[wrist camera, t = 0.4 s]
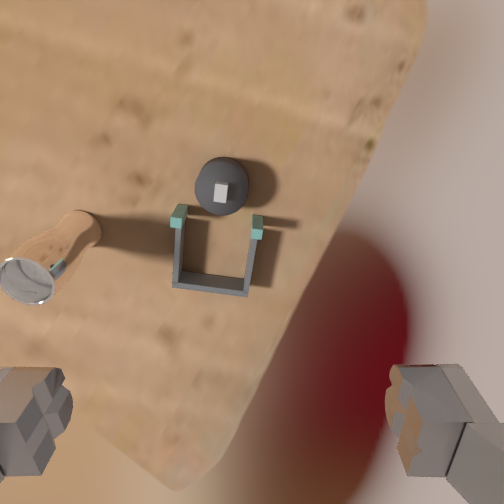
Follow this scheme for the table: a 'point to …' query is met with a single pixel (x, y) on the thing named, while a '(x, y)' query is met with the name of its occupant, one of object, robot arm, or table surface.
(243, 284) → the cable holder
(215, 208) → the dark grey rounded dome
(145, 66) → the table surface
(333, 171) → the table surface
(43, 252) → the beer glass
